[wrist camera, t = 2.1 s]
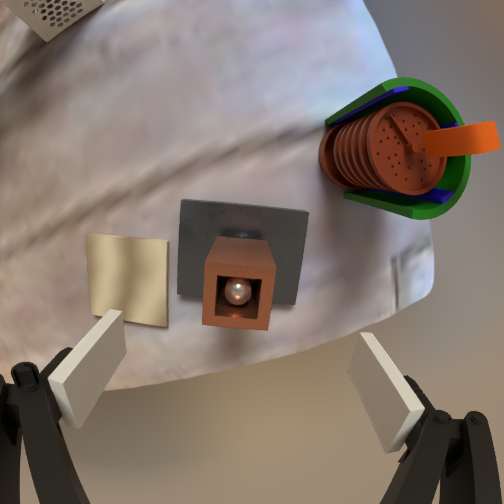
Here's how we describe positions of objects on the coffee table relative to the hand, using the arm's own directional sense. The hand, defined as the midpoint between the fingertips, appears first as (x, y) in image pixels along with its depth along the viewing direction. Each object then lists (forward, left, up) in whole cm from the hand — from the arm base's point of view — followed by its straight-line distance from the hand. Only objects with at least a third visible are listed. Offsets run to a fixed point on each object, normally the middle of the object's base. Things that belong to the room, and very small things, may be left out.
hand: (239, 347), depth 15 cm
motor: (+12, +13, -20) cm, 27 cm away
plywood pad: (-14, -5, -20) cm, 25 cm away
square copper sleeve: (0, 0, -15) cm, 15 cm away
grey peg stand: (0, 0, -20) cm, 20 cm away
